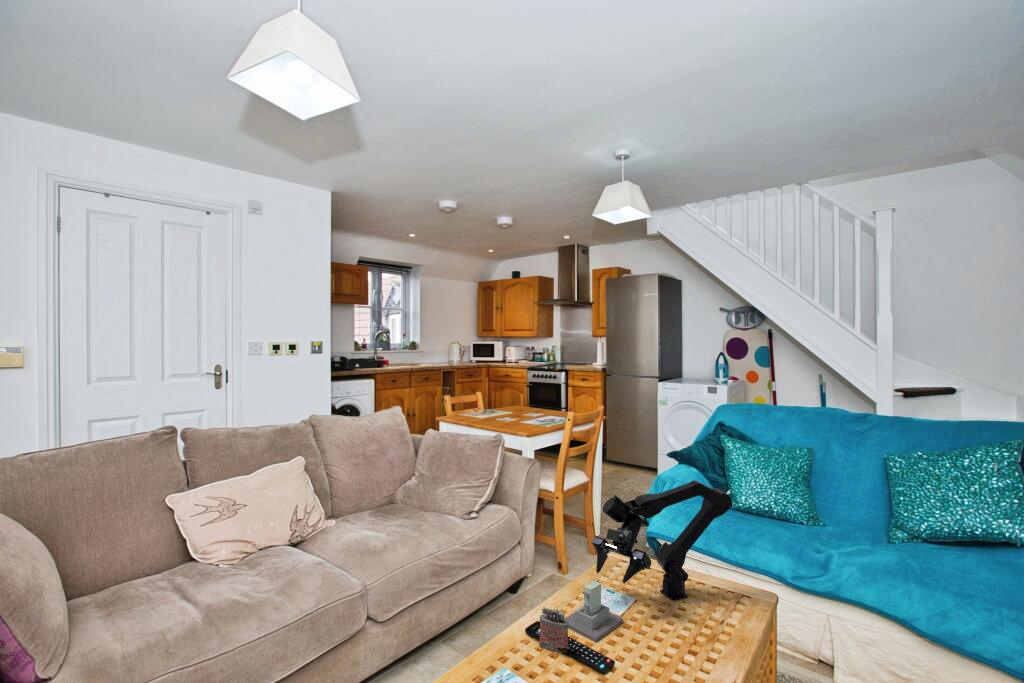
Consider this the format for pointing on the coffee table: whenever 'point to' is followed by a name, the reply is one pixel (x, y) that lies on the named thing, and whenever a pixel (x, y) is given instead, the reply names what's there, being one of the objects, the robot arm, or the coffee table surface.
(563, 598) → the coffee table surface
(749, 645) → the coffee table surface
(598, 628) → the grey socket base
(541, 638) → the lighter
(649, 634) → the coffee table surface
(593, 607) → the pale green rectangular block
